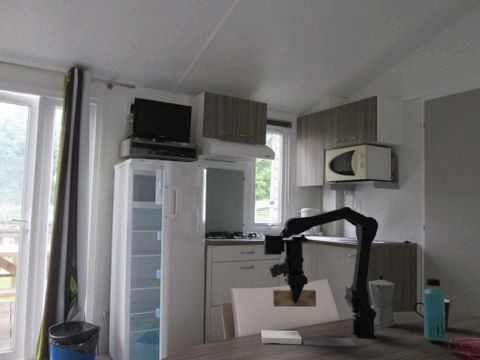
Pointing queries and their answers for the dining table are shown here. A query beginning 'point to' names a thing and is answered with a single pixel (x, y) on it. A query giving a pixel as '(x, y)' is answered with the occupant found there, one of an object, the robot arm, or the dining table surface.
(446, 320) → the coffee mug
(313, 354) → the dining table surface
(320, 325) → the dining table surface
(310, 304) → the tan wooden block
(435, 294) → the beverage bottle
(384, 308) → the coffeepot
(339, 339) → the mat
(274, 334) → the tile
